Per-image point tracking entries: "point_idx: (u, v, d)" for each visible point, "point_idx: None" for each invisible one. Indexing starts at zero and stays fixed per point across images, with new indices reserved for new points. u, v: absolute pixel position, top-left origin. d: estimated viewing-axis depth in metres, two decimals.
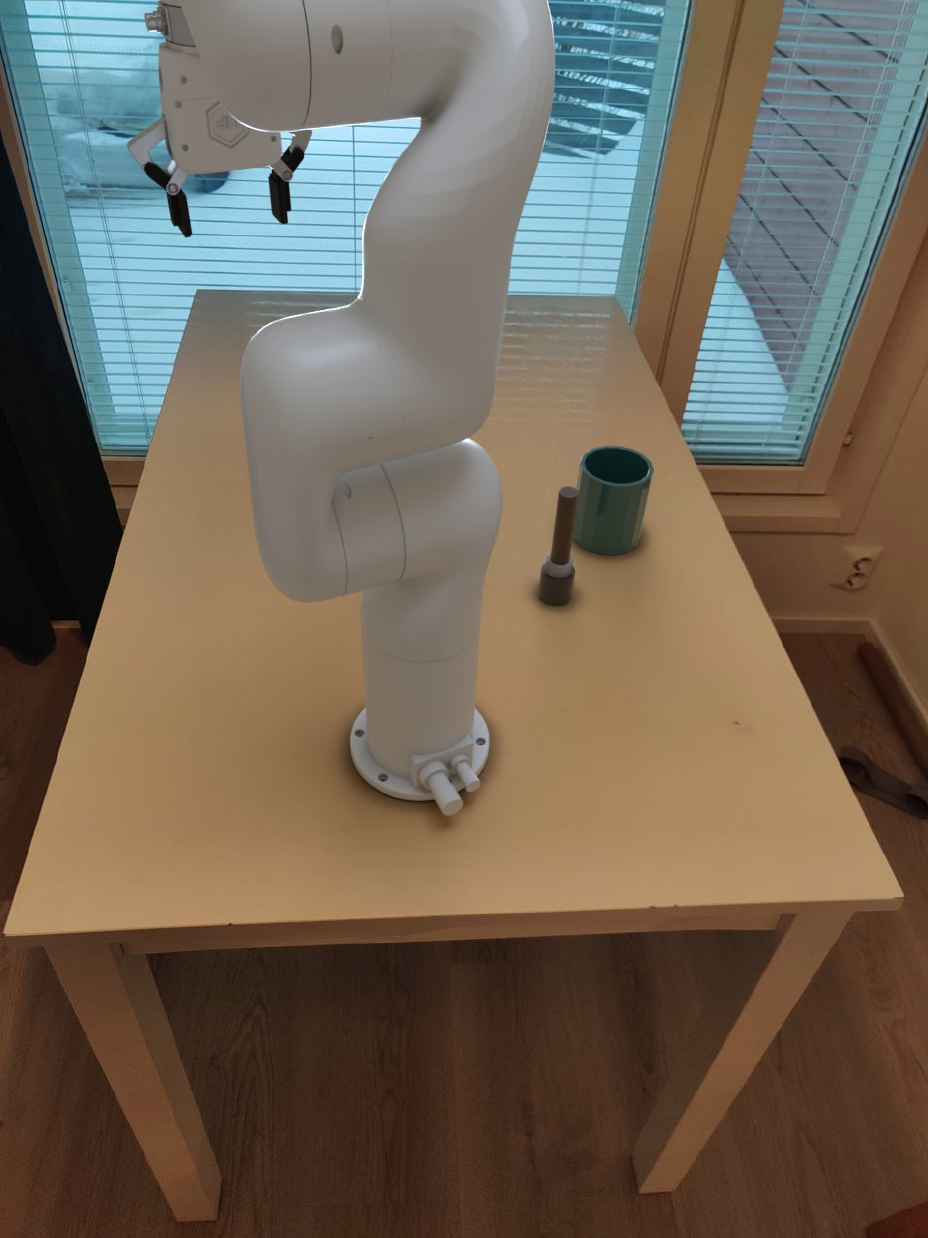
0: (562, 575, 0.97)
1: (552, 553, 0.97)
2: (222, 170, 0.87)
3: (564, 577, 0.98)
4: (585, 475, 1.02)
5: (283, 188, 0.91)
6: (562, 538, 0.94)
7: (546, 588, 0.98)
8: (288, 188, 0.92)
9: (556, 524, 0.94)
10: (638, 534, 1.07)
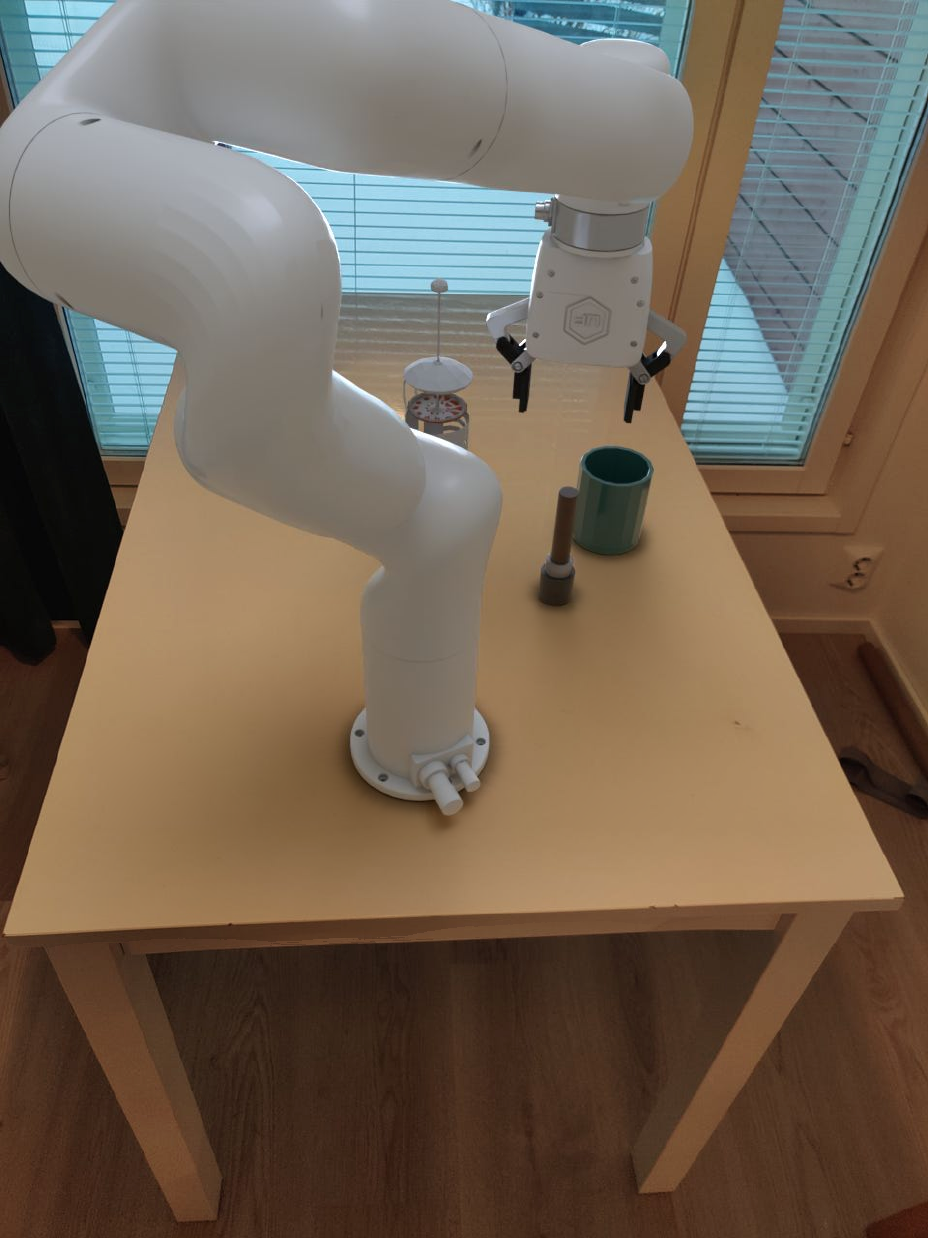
0: (562, 575, 0.97)
1: (552, 553, 0.97)
2: (569, 363, 0.80)
3: (564, 577, 0.98)
4: (585, 475, 1.02)
5: (635, 390, 0.82)
6: (562, 538, 0.94)
7: (546, 588, 0.98)
8: (642, 390, 0.83)
9: (556, 524, 0.94)
10: (638, 534, 1.07)
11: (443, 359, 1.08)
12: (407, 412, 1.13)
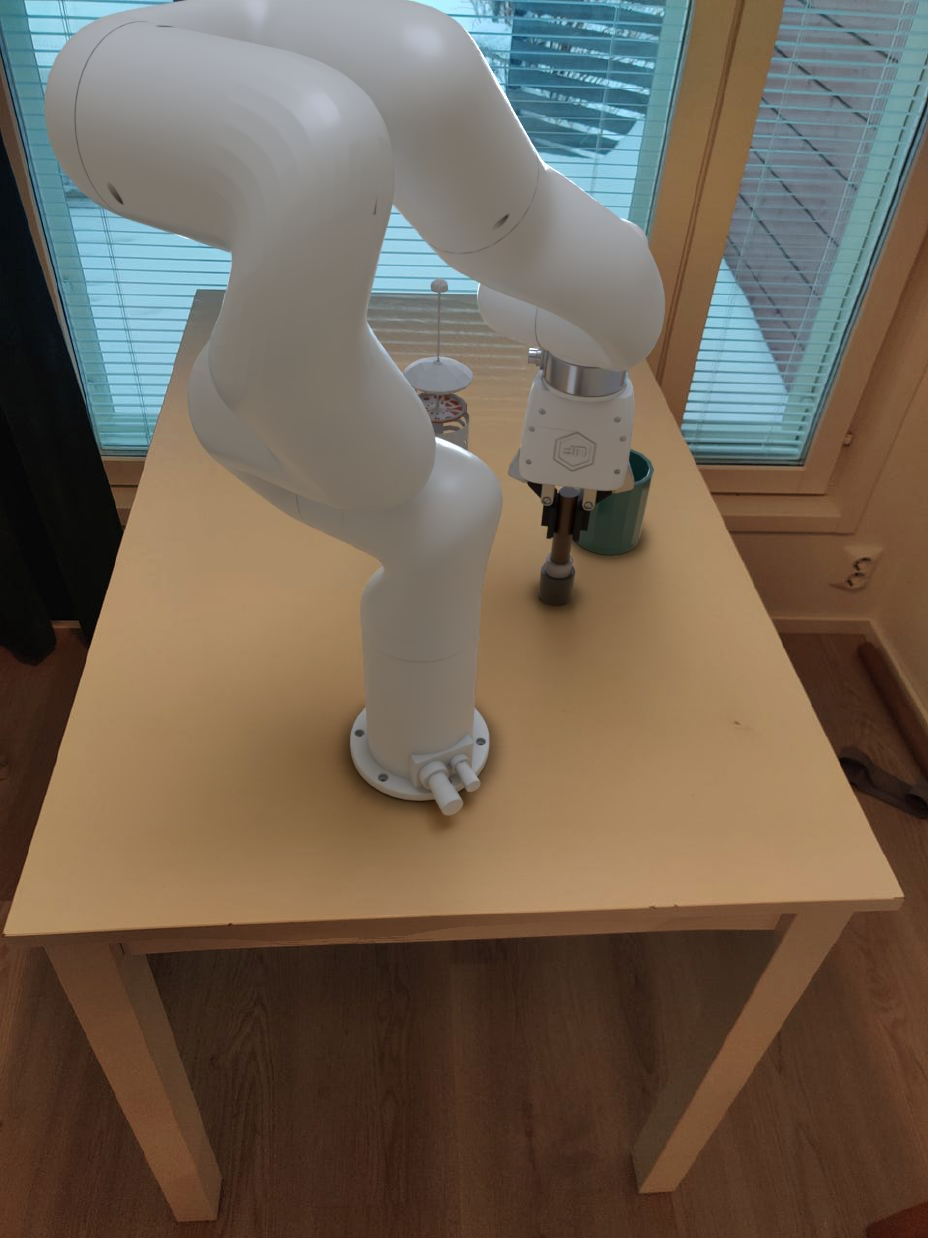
0: (562, 575, 0.97)
1: (552, 553, 0.97)
2: (559, 485, 0.88)
3: (564, 577, 0.98)
4: None
5: (581, 515, 0.92)
6: (562, 538, 0.94)
7: (546, 588, 0.98)
8: (588, 514, 0.92)
9: (556, 524, 0.94)
10: (638, 534, 1.07)
11: (443, 359, 1.08)
12: None
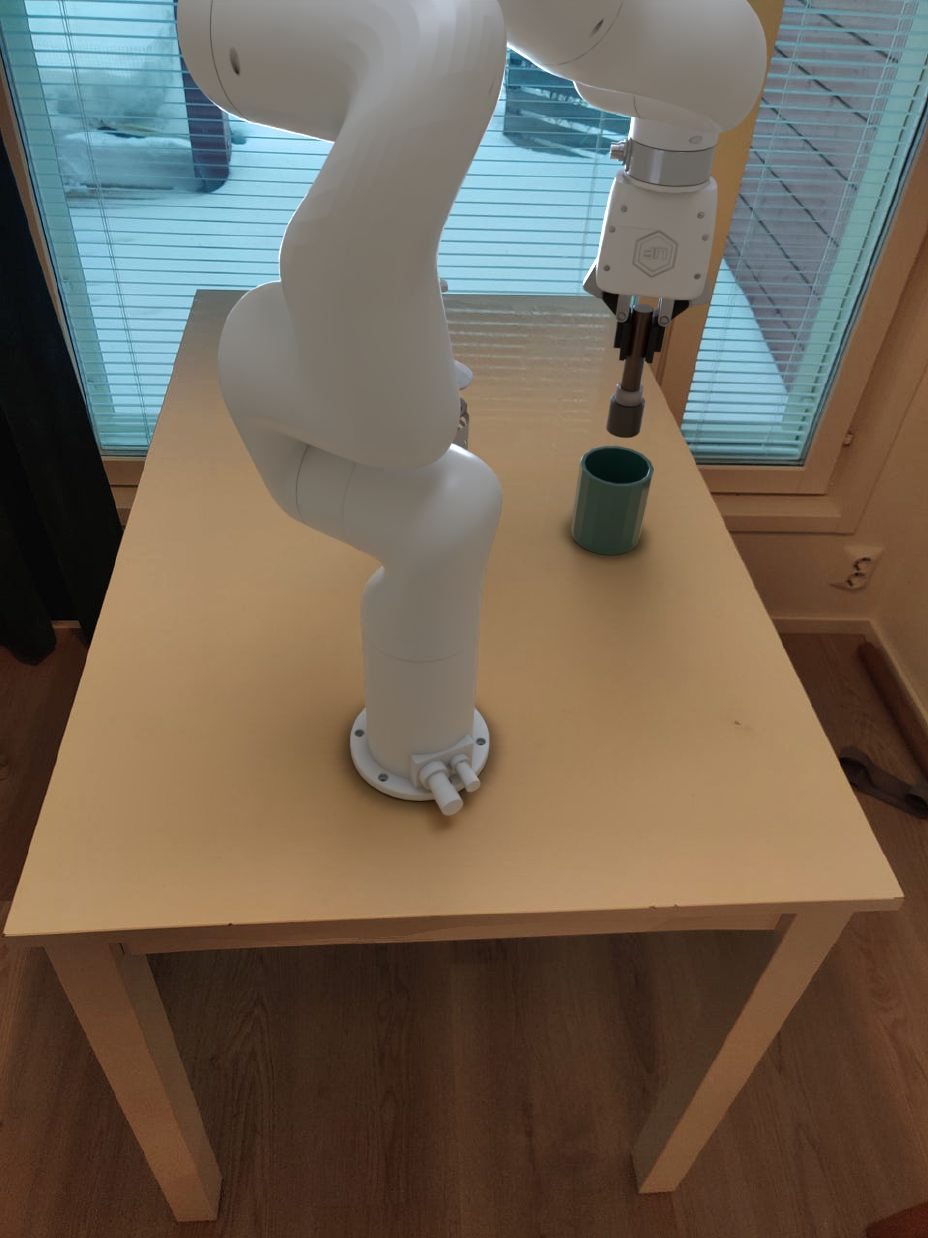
0: (632, 402, 0.96)
1: (623, 379, 0.95)
2: (636, 295, 0.87)
3: (634, 405, 0.96)
4: (585, 475, 1.02)
5: (656, 331, 0.90)
6: (635, 360, 0.93)
7: (616, 418, 0.97)
8: (663, 332, 0.91)
9: (629, 345, 0.93)
10: (638, 534, 1.07)
11: None
12: None
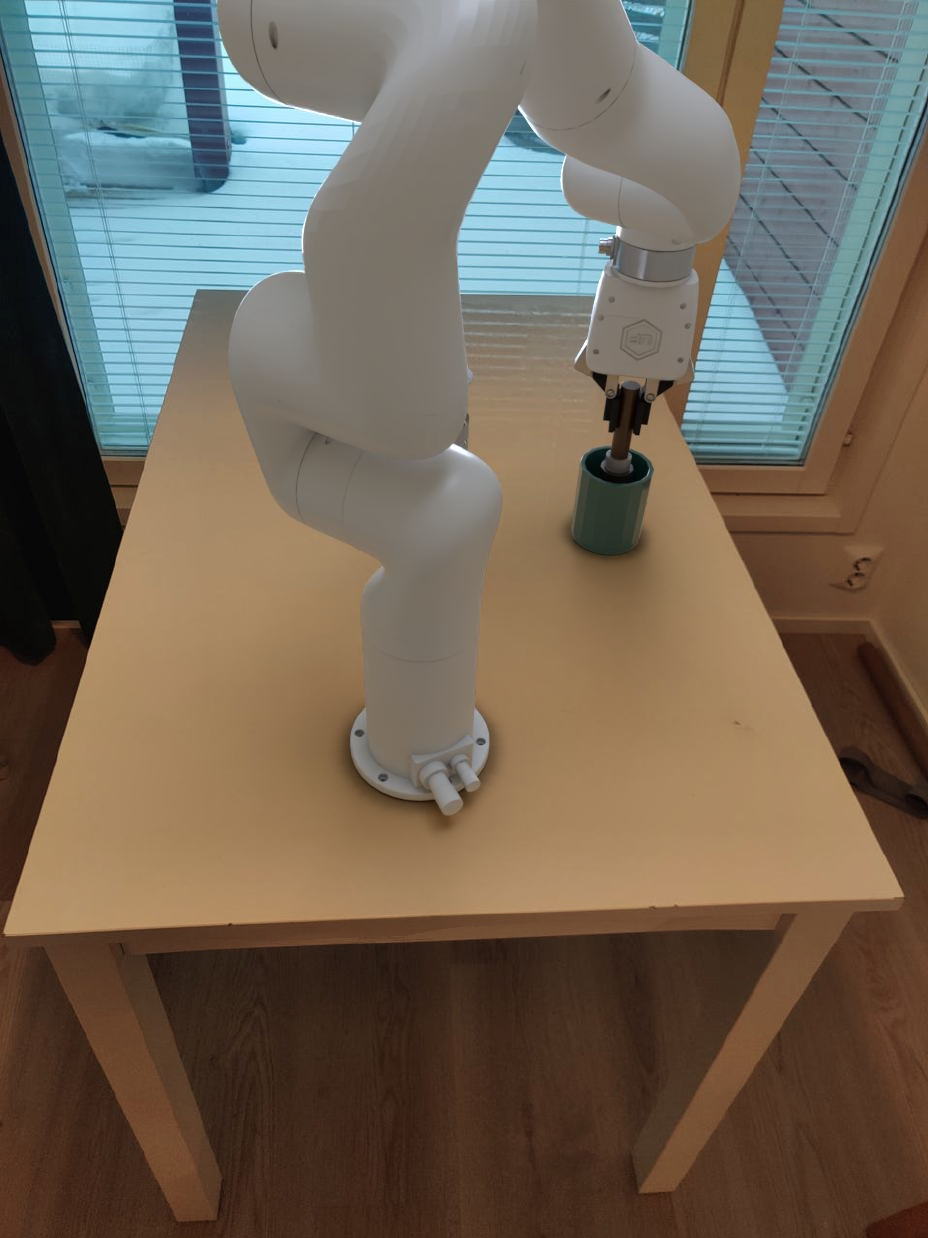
0: (621, 470, 1.02)
1: (612, 448, 1.01)
2: (624, 375, 0.93)
3: (623, 472, 1.02)
4: (585, 475, 1.02)
5: (642, 407, 0.96)
6: (623, 432, 0.99)
7: None
8: (649, 407, 0.97)
9: (618, 418, 0.99)
10: (638, 534, 1.07)
11: None
12: None
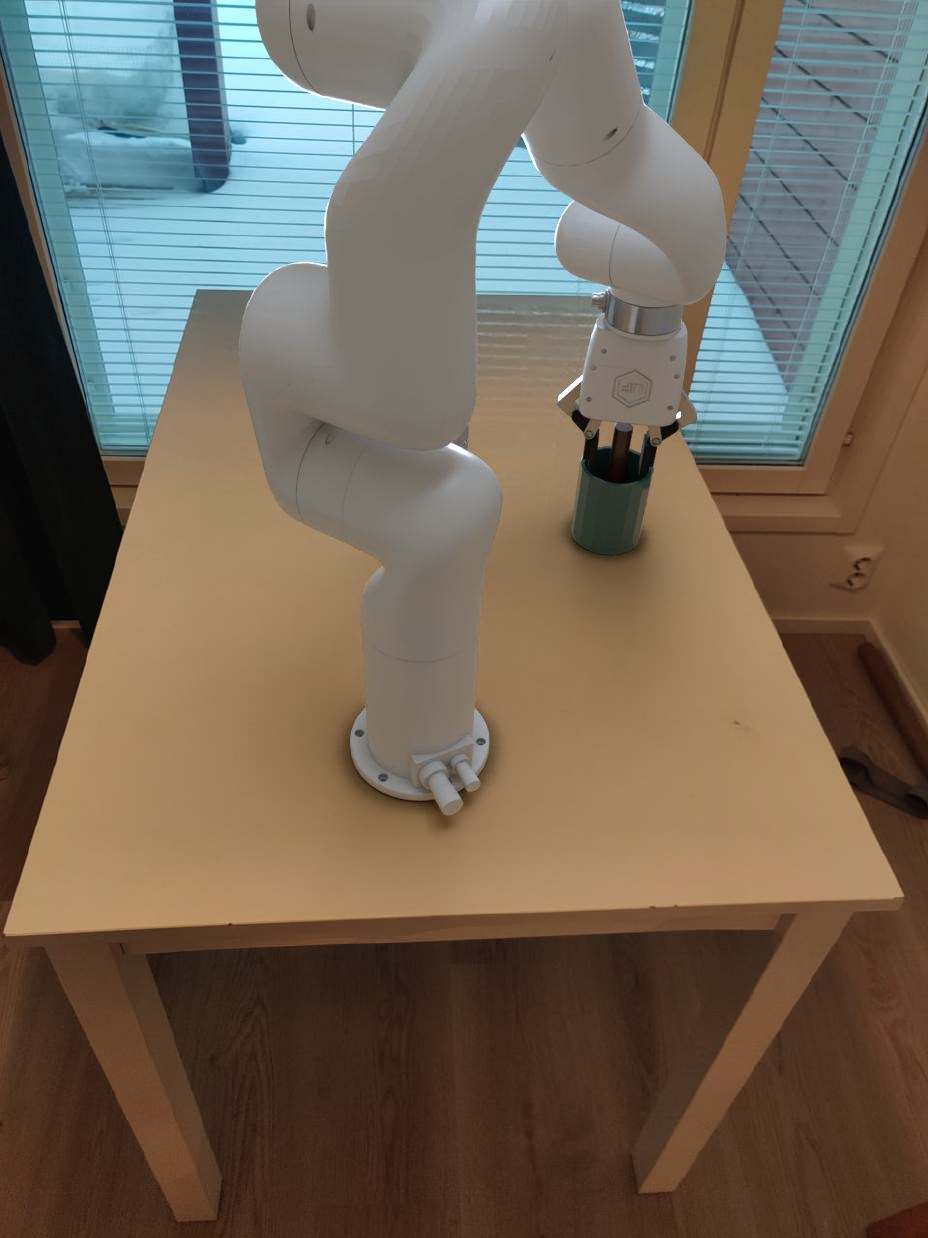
0: None
1: None
2: (616, 422, 0.96)
3: None
4: (585, 475, 1.02)
5: (648, 451, 0.99)
6: (616, 471, 1.02)
7: None
8: (655, 450, 1.00)
9: (611, 458, 1.02)
10: (638, 534, 1.07)
11: None
12: None
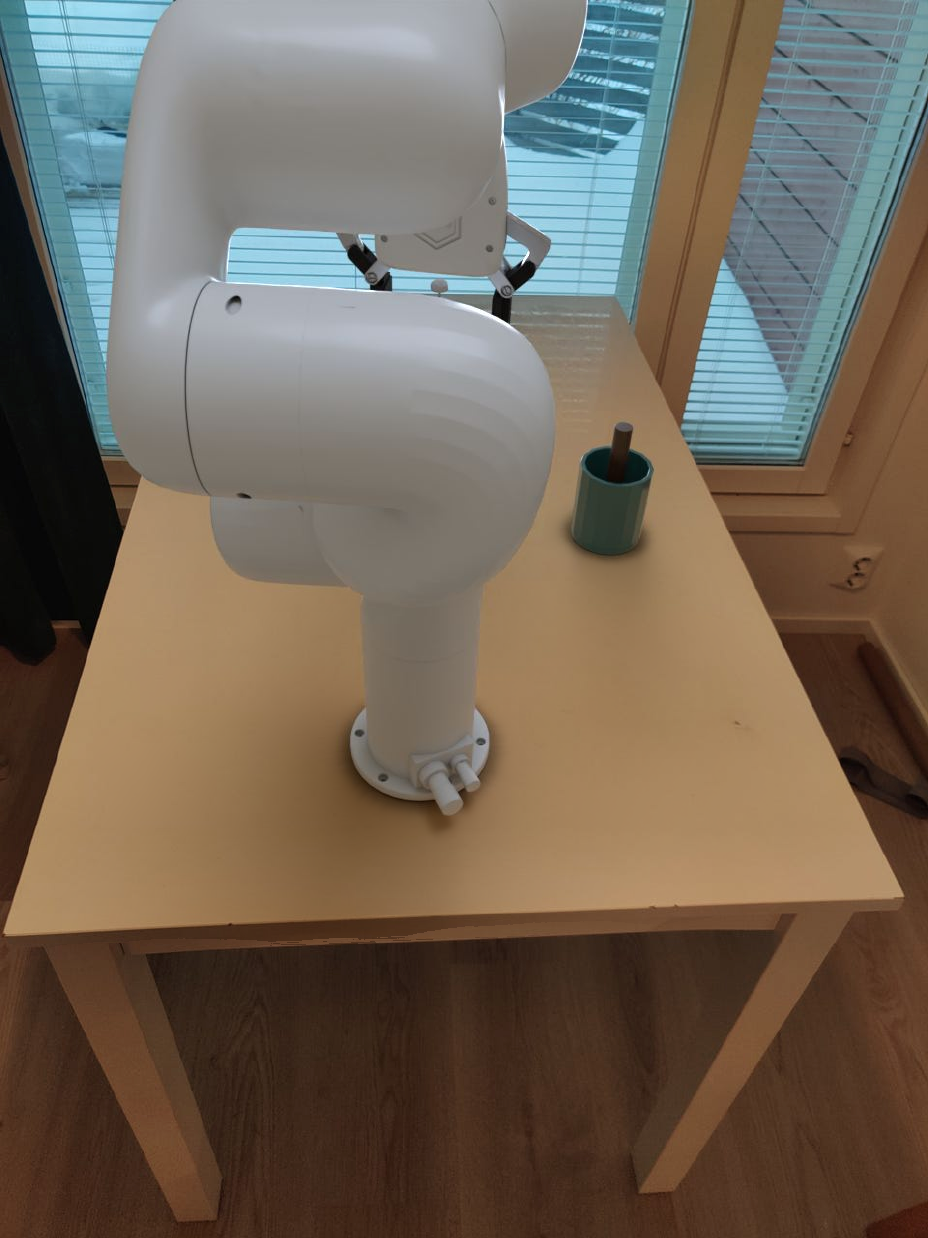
0: None
1: None
2: (423, 271, 0.73)
3: None
4: (585, 475, 1.02)
5: (498, 304, 0.75)
6: (616, 471, 1.02)
7: None
8: (508, 305, 0.76)
9: (611, 458, 1.02)
10: (638, 534, 1.07)
11: None
12: None
